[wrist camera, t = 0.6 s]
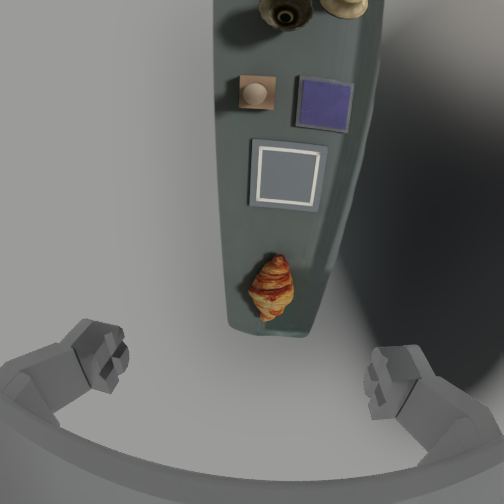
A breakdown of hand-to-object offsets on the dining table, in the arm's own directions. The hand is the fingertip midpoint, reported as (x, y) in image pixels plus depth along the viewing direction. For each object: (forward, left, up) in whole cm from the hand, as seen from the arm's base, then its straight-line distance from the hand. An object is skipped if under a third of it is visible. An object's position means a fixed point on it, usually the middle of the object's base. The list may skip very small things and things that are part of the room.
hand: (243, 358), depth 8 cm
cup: (-15, -11, -44) cm, 48 cm away
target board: (+7, +9, -44) cm, 45 cm away
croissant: (+28, +24, -44) cm, 58 cm away
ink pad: (-8, +4, -44) cm, 45 cm away
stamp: (-2, -5, -44) cm, 44 cm away
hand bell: (-25, -7, -44) cm, 51 cm away
